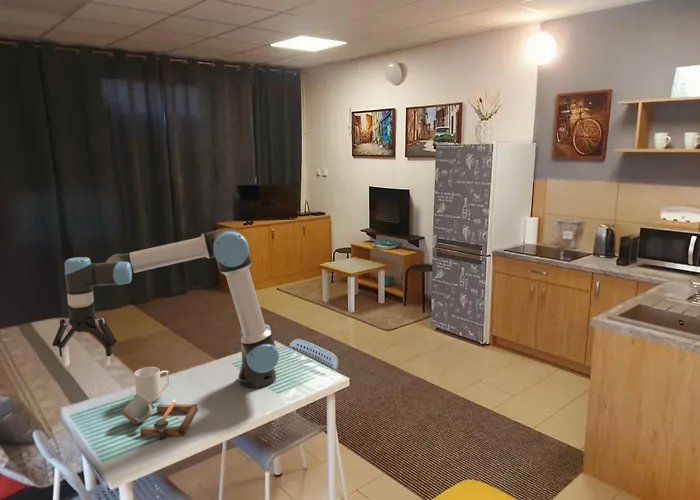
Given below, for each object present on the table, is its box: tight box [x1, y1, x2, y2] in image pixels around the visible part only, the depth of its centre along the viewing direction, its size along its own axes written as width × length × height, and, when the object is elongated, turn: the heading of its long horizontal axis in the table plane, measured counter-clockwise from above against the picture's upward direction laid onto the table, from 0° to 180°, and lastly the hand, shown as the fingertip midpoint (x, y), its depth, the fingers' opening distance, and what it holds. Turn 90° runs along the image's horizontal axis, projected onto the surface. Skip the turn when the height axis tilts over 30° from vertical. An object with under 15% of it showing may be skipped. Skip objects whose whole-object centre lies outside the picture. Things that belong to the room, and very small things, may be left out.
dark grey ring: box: [153, 420, 169, 441], centre depth 158 cm, size 4×4×5 cm
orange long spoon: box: [155, 399, 178, 426], centre depth 164 cm, size 3×16×1 cm, turn 2°
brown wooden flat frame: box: [139, 403, 199, 437], centre depth 167 cm, size 14×16×2 cm
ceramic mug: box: [121, 393, 155, 425], centre depth 166 cm, size 11×8×8 cm
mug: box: [133, 366, 170, 404], centre depth 185 cm, size 12×9×11 cm
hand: (87, 365), depth 164 cm, fingers open, 13 cm apart
